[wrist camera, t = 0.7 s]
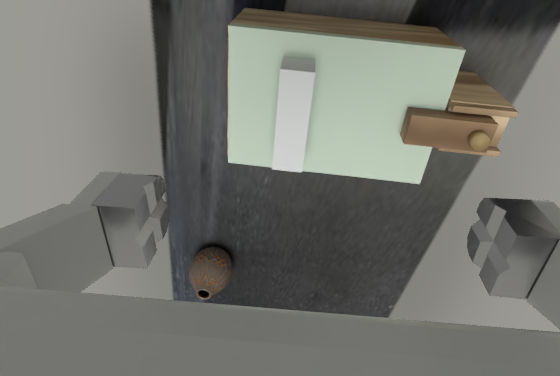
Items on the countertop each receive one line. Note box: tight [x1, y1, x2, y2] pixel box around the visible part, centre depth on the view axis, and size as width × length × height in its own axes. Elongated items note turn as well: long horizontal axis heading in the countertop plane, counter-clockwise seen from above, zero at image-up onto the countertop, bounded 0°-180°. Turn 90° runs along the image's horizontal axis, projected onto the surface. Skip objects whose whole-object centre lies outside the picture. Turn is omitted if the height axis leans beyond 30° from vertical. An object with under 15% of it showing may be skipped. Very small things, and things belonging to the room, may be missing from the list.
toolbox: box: [228, 8, 518, 157], centre depth 42 cm, size 14×28×12 cm, turn 85°
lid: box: [228, 23, 466, 184], centre depth 37 cm, size 14×21×5 cm
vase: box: [189, 247, 232, 299], centre depth 63 cm, size 7×7×9 cm
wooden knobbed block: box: [400, 107, 499, 153], centre depth 36 cm, size 3×8×3 cm, turn 85°
